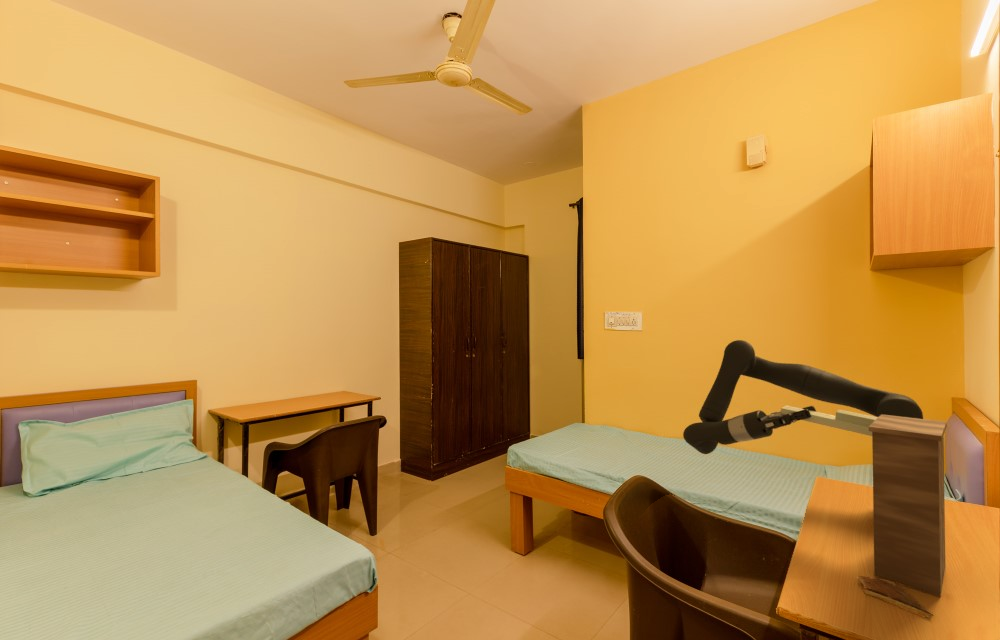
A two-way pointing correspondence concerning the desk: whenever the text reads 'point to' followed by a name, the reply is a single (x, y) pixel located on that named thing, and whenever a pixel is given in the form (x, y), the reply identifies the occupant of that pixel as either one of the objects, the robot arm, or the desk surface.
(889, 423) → the walnut stand
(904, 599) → the shard
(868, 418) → the cream plank with block
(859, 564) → the desk surface
